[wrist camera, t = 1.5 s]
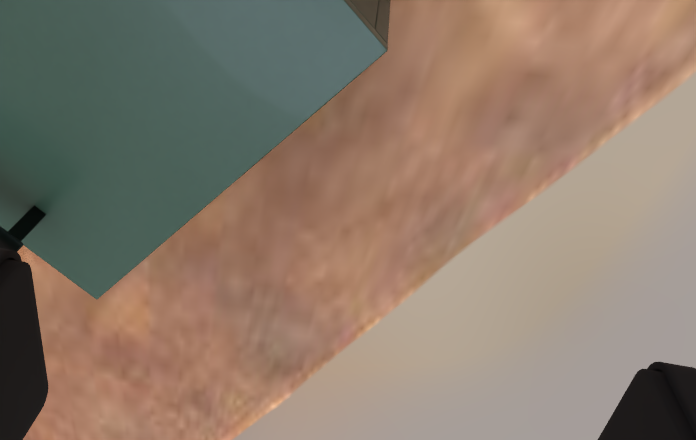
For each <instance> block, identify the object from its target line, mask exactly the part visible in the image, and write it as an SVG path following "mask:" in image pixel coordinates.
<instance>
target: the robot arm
mask: <svg viewBox="0 0 696 440" xmlns="http://www.w3.org/2000/svg"><path fill="white" fill-rule="evenodd" d="M47 393H48V380H47V373H46V367H45V360H44V353H43V346H42V340H41V333H40V326H39V319H38V313H37V306H36V299H35V292H34V286H33V279H32V272H31V268H30V265H29V264H28V263H26V262H22V261H21V257H20V255H19V254H18V253H17V252H16V251H14V250H9V249H3V248H0V440H23V438H24V436H25V435H26V433H27V432H28V430H29V429H30V427H31V425H32V424H33V422H34V421H35V419H36V417H37V416H38V414H39V413H40V411H41V409H42V408H43V406H44V403H45V401H46V397H47ZM598 440H696V369H695V368H692V367H686V366H680V365H674V364H669V363H663V362H654V363H653V364H651V365H650V366H649V367H648V369H641V370H639V371H638V372H637V374H636V375H635V377H634V378H633V380H632V382H631V384H630V385H629V387H628V389H627V390H626V392H625V394H624V395H623V397H622V399H621V401H620V402H619V404H618V406H617V407H616V409H615V411H614V413H613V415H612V416H611V418H610V420H609V421H608V423H607V425H606V426H605V428H604V430H603V432H602V433H601V435H600V437H599V438H598Z"/></svg>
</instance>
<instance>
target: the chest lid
mask: <svg viewBox="0 0 696 440" xmlns="http://www.w3.org/2000/svg"><path fill="white" fill-rule="evenodd" d="M387 49H388V44H387V43H386V42H385V41H384V40H383V39H382V37H381V36H380V35H379V34H378V33H377V32H376V30H375V29H374V28H373V27H372V26H371V25H370V23H369V22H368V21H367V20H366V19H365V18H364V16H363V15H362V14H361V13H360V12H359V11H358V9H357V8H356V7H355V6H354V5H353V4H352V2H351V1H350V0H0V248H3V249H9V250H14V251H16V252H17V251H18V250H19V249H20V248H21V247H22V246H23V245H24V246H26V247H27V248H28V249H30V250H31V251H32V252H34V253H35V254H36V255H38V256H39V257H40V258H42V259H43V260H44V261H46V262H47V263H48V264H50V265H51V266H52V267H54V268H55V269H56V270H58V271H59V272H60V273H62V274H63V275H64V276H66V277H67V278H68V279H70V280H71V281H72V282H74V283H75V284H77V285H78V286H79V287H81V288H82V289H83V290H85V291H86V292H87V293H89V294H90V295H91V296H93V297H94V298H95V299H98V298H99V297H101V296H102V295H103V294H104V293H105V292H106V291H108V290H109V289H110V288H111V287H112V286H113V285H115V284H116V283H117V282H118V281H119V280H120V279H122V278H123V277H124V276H125V275H126V274H127V273H129V272H130V271H131V270H132V269H133V268H134V267H136V266H137V265H138V264H139V263H140V262H141V261H143V260H144V259H145V258H146V257H147V256H148V255H150V254H151V253H152V252H153V251H154V250H155V249H157V248H158V247H159V246H160V245H161V244H162V243H164V242H165V241H166V240H167V239H168V238H169V237H171V236H172V235H173V234H174V233H175V232H176V231H178V230H179V229H180V228H181V227H182V226H183V225H185V224H186V223H187V222H188V221H189V220H190V219H192V218H193V217H194V216H195V215H196V214H197V213H199V212H200V211H201V210H202V209H203V208H204V207H206V206H207V205H208V204H209V203H210V202H211V201H213V200H214V199H215V198H216V197H217V196H218V195H220V194H221V193H222V192H223V191H224V190H225V189H227V188H228V187H229V186H230V185H231V184H232V183H234V182H235V181H236V180H237V179H238V178H239V177H241V176H242V175H243V174H244V173H245V172H246V171H248V170H249V169H250V168H251V167H252V166H253V165H255V164H256V163H257V162H258V161H259V160H260V159H262V158H263V157H264V156H265V155H266V154H267V153H269V152H270V151H271V150H272V149H273V148H274V147H276V146H277V145H278V144H279V143H280V142H281V141H283V140H284V139H285V138H286V137H287V136H288V135H290V134H291V133H292V132H293V131H294V130H295V129H297V128H298V127H299V126H300V125H301V124H302V123H304V122H305V121H306V120H307V119H308V118H310V117H311V116H312V115H313V114H314V113H315V112H317V111H318V110H319V109H320V108H321V107H322V106H324V105H325V104H326V103H327V102H328V101H329V100H331V99H332V98H333V97H334V96H335V95H336V94H338V93H339V92H340V91H341V90H342V89H343V88H345V87H346V86H347V85H348V84H349V83H350V82H352V81H353V80H354V79H355V78H356V77H357V76H359V75H360V74H361V73H362V72H363V71H364V70H366V69H367V68H368V67H369V66H370V65H371V64H373V63H374V62H375V61H376V60H377V59H378V58H380V57H381V56H382V55H383V54H384V53H385V52H387Z"/></svg>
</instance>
